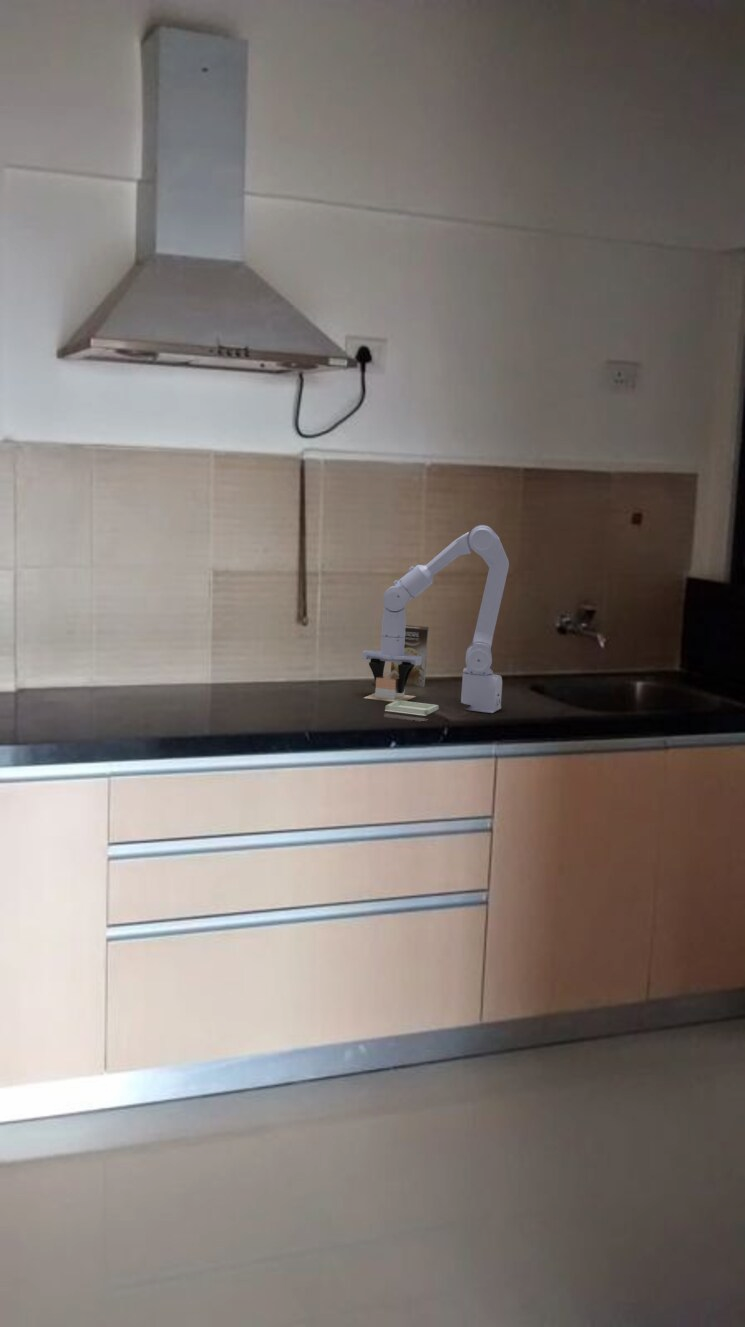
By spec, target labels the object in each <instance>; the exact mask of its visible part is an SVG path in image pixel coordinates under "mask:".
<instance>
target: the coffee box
mask: <svg viewBox="0 0 745 1327" xmlns="http://www.w3.org/2000/svg"><path fill="white" fill-rule="evenodd" d="M428 639H429V626H421V625H420V626H419V625H409V624H406V627H405V645H404V654H408V655H414V656H421V657H422V660H421V665H415V664H414V668H413V669H412V671H411V673H410V675H409V677H408V679H407V682H406V685H408V686H415V687H425V685H426V673H427V672H426V668H427V654H428V642H429V641H428ZM392 660H398V659H392ZM402 661H403V660H402ZM400 664H402V663H398V662H390V674H393V675H399V670H398V665H400Z"/></svg>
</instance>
